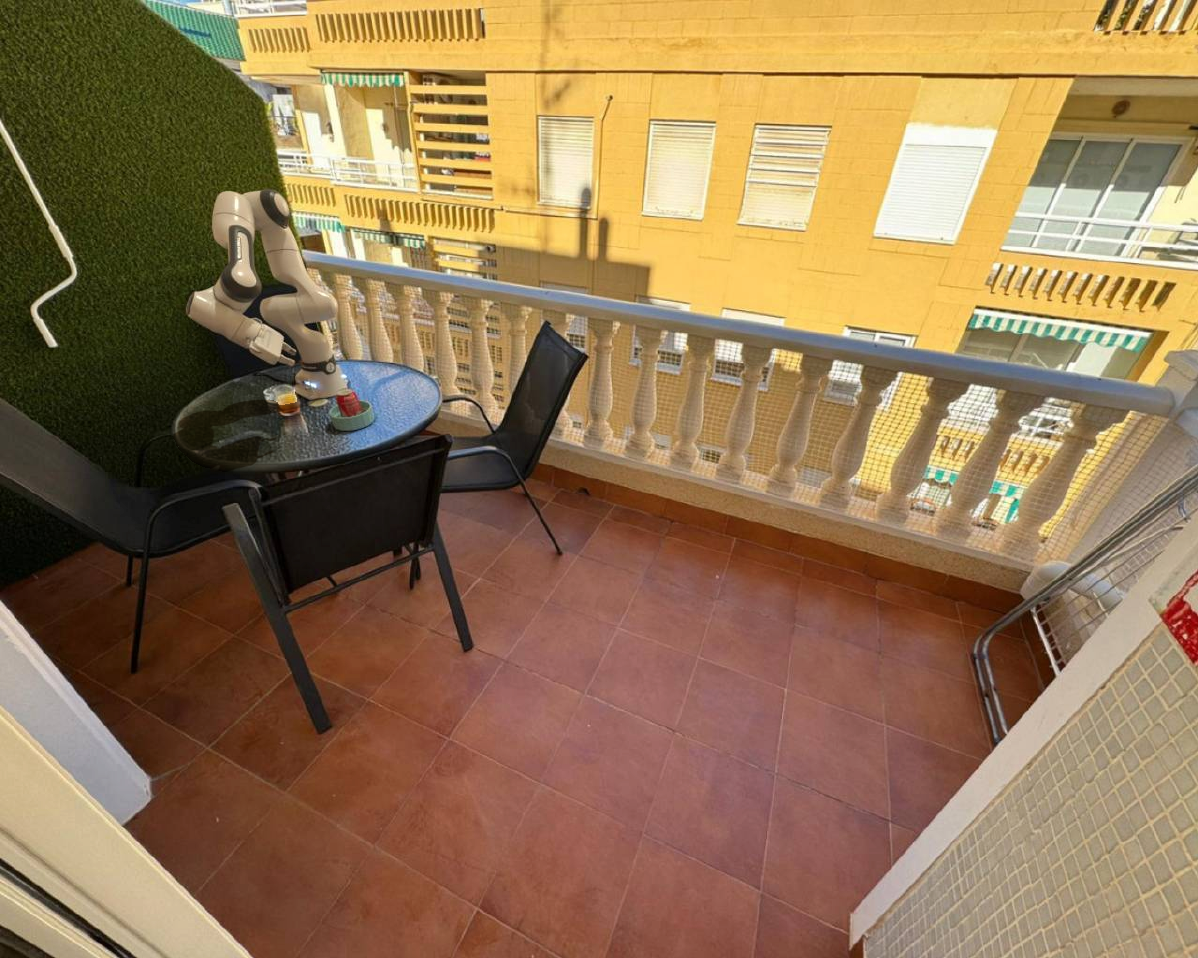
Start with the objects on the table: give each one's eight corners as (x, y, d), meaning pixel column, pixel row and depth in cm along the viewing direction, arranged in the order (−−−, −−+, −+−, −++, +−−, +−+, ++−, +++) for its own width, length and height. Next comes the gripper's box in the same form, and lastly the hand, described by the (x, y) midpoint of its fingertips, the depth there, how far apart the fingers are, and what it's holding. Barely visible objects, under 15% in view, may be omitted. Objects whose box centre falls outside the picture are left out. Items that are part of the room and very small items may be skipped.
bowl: (325, 426, 181) (320, 413, 178) (355, 410, 192) (351, 397, 189) (353, 435, 176) (348, 421, 173) (383, 417, 187) (379, 404, 184)
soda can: (347, 417, 186) (337, 387, 179) (367, 416, 187) (357, 386, 180) (341, 426, 181) (330, 396, 174) (361, 425, 181) (351, 395, 174)
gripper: (249, 336, 147) (298, 362, 156) (257, 316, 163) (301, 341, 172) (238, 353, 149) (287, 378, 158) (247, 331, 164) (291, 355, 173)
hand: (294, 358), depth 165 cm, fingers open, 8 cm apart
